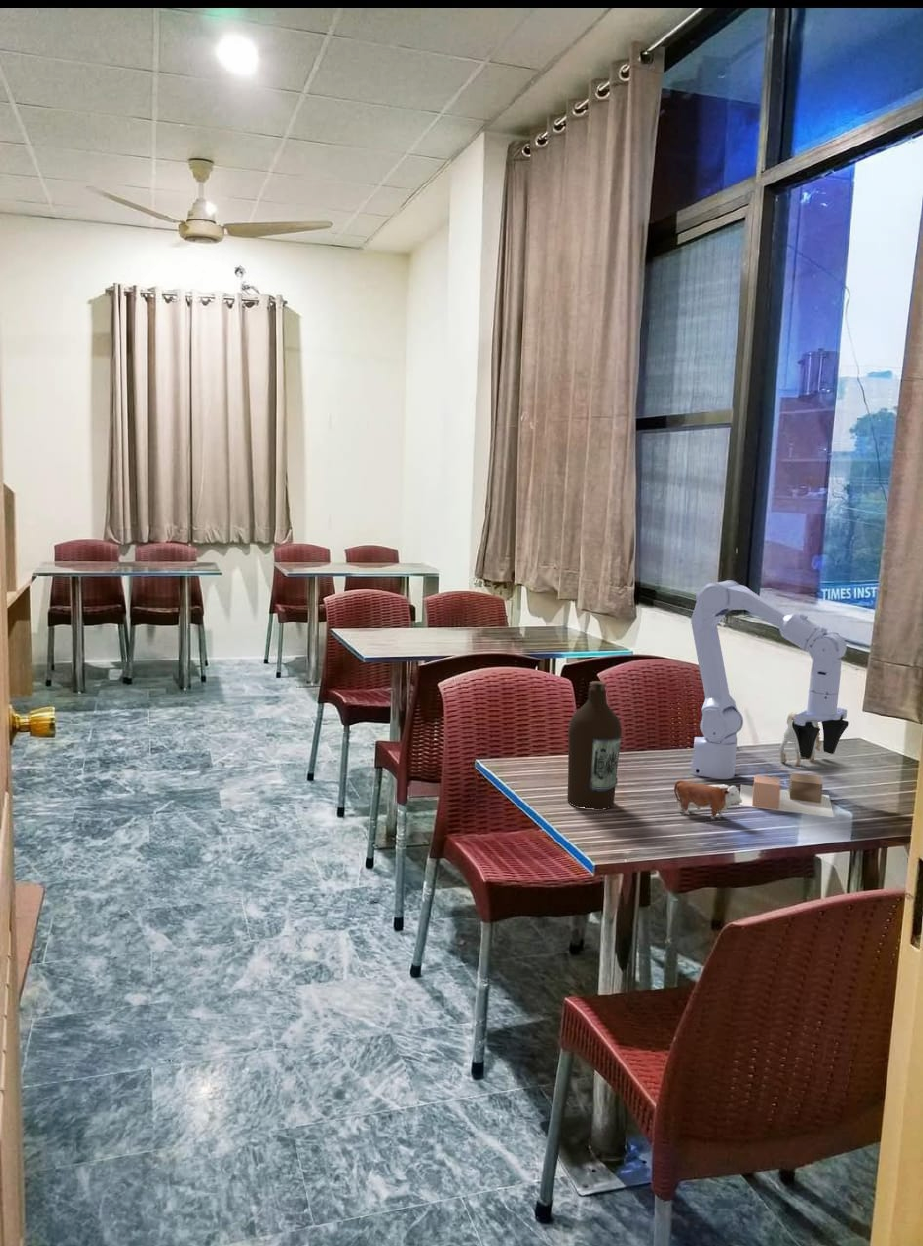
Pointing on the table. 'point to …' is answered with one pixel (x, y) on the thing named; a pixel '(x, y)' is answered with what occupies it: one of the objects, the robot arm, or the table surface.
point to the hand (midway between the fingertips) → (817, 754)
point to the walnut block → (805, 787)
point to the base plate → (791, 803)
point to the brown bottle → (593, 752)
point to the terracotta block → (766, 792)
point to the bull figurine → (706, 796)
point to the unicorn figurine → (796, 741)
